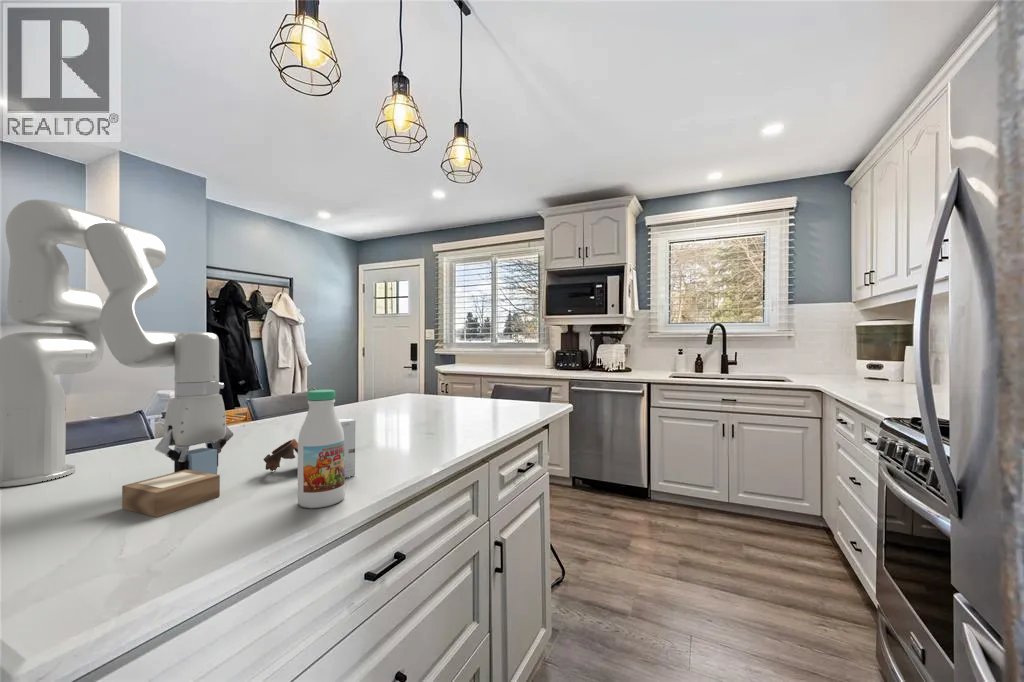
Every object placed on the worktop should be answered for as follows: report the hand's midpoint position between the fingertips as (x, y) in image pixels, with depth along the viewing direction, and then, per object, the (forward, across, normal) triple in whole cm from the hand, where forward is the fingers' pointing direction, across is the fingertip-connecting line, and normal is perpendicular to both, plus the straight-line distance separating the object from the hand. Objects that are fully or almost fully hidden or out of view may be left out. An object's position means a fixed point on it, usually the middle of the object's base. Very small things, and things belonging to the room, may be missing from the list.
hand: (197, 474), depth 87 cm
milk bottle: (+1, 0, +35) cm, 35 cm away
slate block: (+1, 0, 0) cm, 1 cm away
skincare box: (+1, -12, +27) cm, 30 cm away
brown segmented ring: (+1, -12, +14) cm, 19 cm away
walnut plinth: (+1, +10, +10) cm, 14 cm away
